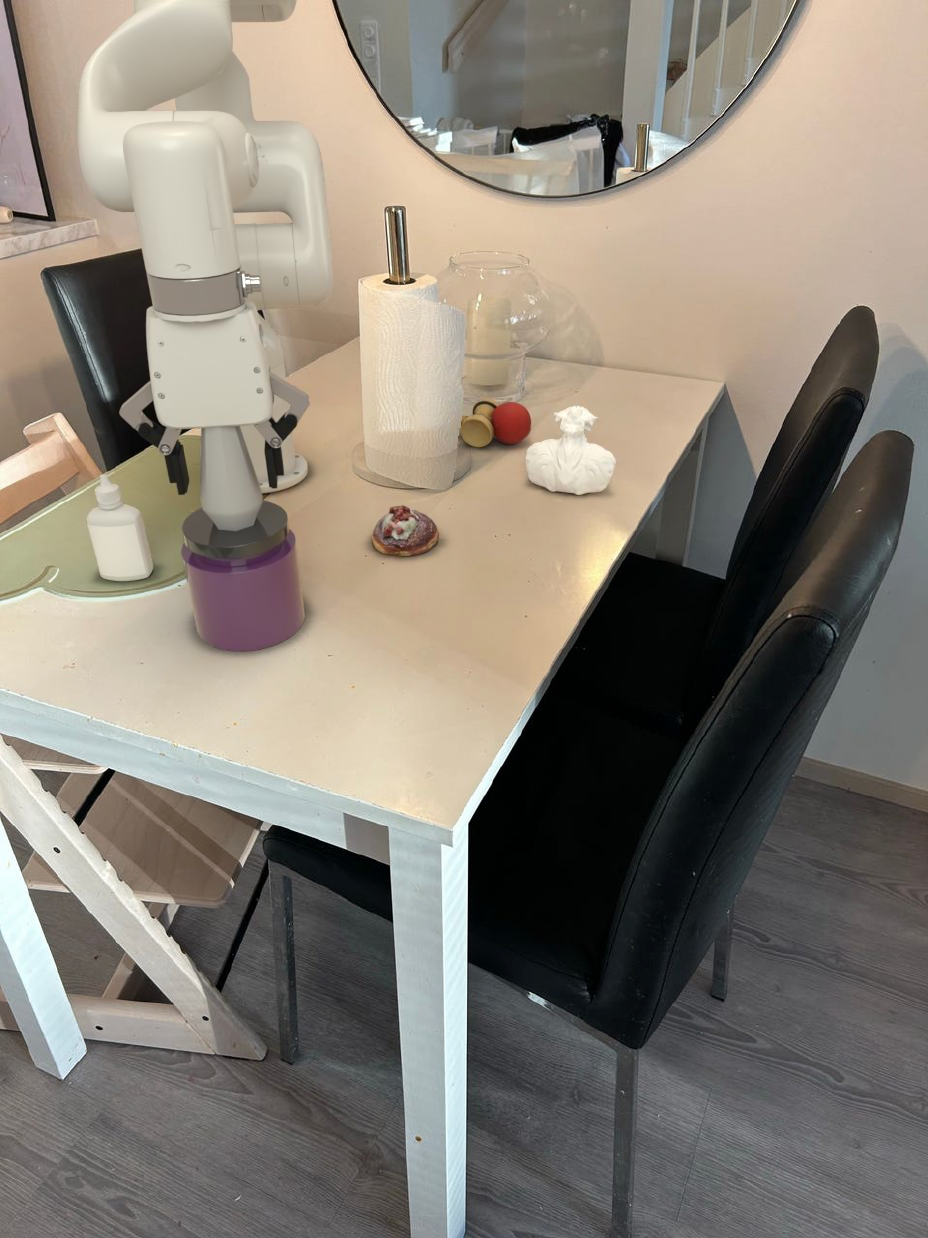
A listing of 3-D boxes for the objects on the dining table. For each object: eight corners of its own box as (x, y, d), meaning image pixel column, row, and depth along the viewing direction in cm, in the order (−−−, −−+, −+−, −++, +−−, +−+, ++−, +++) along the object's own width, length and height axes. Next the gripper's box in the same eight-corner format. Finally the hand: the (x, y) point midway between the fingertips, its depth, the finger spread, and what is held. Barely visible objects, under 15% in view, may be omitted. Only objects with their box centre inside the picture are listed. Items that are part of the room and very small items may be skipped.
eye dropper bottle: (132, 589, 98) (107, 489, 91) (94, 577, 100) (67, 478, 93) (160, 571, 101) (138, 473, 94) (123, 559, 103) (99, 463, 96)
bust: (612, 505, 119) (627, 422, 120) (608, 492, 112) (623, 404, 112) (525, 493, 122) (539, 413, 123) (515, 480, 115) (530, 394, 115)
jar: (174, 637, 90) (151, 537, 84) (235, 584, 99) (219, 489, 92) (269, 661, 87) (253, 558, 80) (324, 603, 95) (313, 506, 89)
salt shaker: (251, 538, 83) (231, 403, 76) (194, 532, 84) (168, 399, 77) (274, 510, 88) (257, 381, 81) (220, 505, 89) (198, 377, 82)
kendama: (406, 451, 132) (525, 448, 126) (401, 408, 129) (522, 403, 124) (423, 441, 138) (537, 437, 133) (419, 399, 136) (535, 394, 131)
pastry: (374, 560, 103) (371, 521, 100) (369, 529, 109) (366, 491, 106) (443, 554, 104) (442, 515, 101) (434, 524, 110) (433, 487, 107)
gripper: (303, 277, 79) (321, 463, 88) (97, 285, 76) (139, 475, 86) (303, 299, 72) (323, 496, 82) (79, 308, 70) (127, 510, 80)
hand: (229, 484), depth 84 cm, fingers open, 7 cm apart
